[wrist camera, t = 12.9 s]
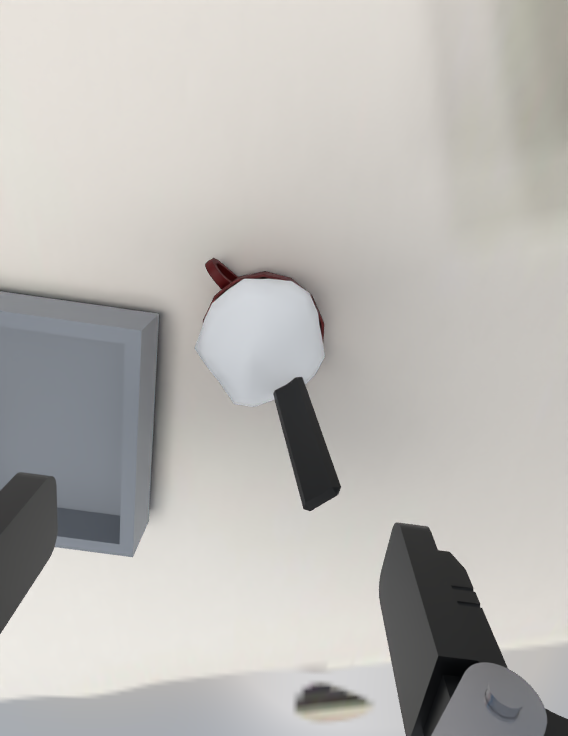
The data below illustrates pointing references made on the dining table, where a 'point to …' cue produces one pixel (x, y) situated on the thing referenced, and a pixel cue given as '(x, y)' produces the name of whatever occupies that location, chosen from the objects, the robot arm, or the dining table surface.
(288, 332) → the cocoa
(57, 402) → the tray
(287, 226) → the dining table surface
